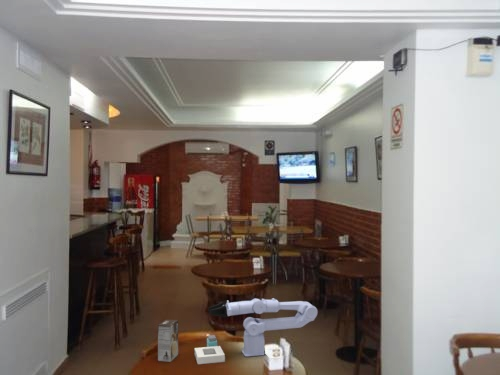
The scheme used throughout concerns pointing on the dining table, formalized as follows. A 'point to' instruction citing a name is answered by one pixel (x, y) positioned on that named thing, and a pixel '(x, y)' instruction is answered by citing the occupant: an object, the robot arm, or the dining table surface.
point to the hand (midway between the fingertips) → (209, 311)
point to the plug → (211, 341)
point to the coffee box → (167, 340)
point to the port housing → (209, 355)
